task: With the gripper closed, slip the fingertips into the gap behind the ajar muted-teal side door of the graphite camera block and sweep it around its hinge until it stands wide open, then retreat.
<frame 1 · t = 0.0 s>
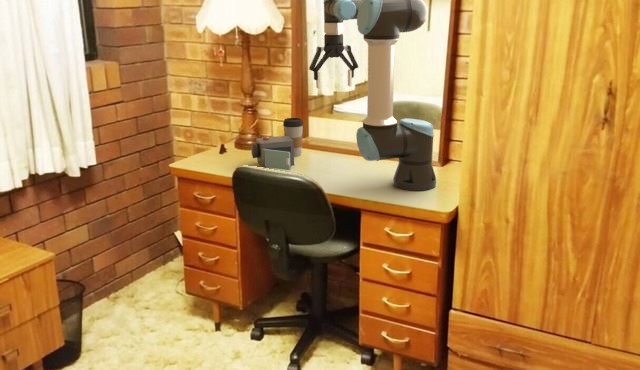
hand: (334, 87, 256), 28 cm above the table, fingers open, 13 cm apart
camera body: (275, 163, 251), on the table
side door: (275, 159, 240), point 4 cm above the table, hinge at 45.0°
coffee cup: (293, 155, 263), on the table
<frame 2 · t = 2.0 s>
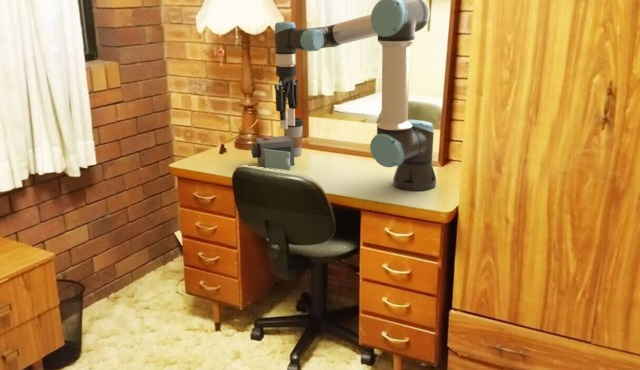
hand: (287, 126, 238), 17 cm above the table, fingers open, 5 cm apart
nothing on the table moved.
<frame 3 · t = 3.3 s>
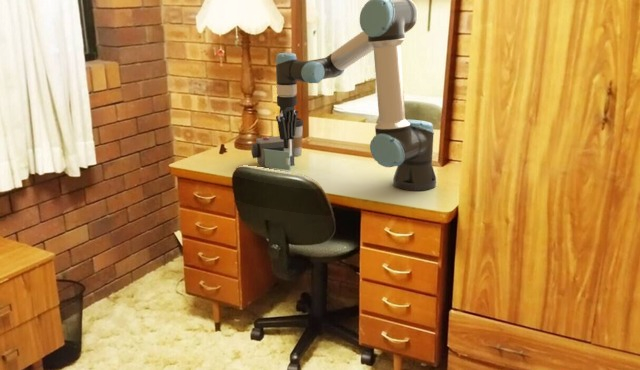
hand: (287, 155, 242), 5 cm above the table, fingers closed
nothing on the table moved.
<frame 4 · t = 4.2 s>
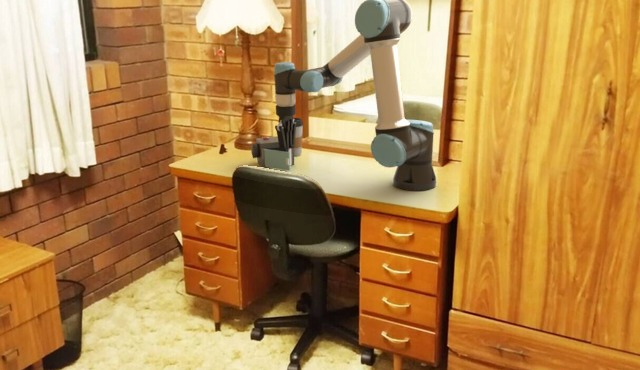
hand: (287, 164, 242), 2 cm above the table, fingers closed
side door: (275, 159, 240), point 4 cm above the table, hinge at 45.9°, touching gripper
everything else where it was.
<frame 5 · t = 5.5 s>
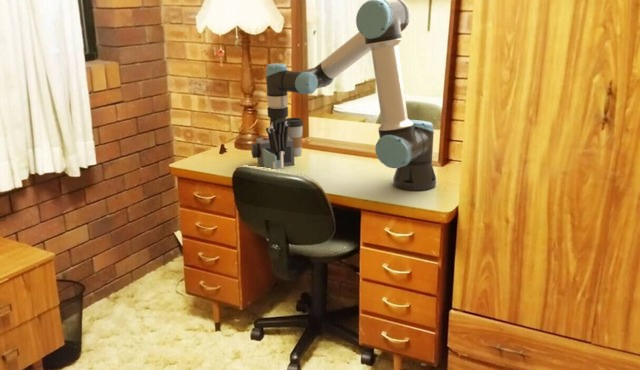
hand: (279, 167, 238), 2 cm above the table, fingers closed
side door: (268, 161, 238), point 5 cm above the table, hinge at 79.6°, touching gripper
everything else where it was.
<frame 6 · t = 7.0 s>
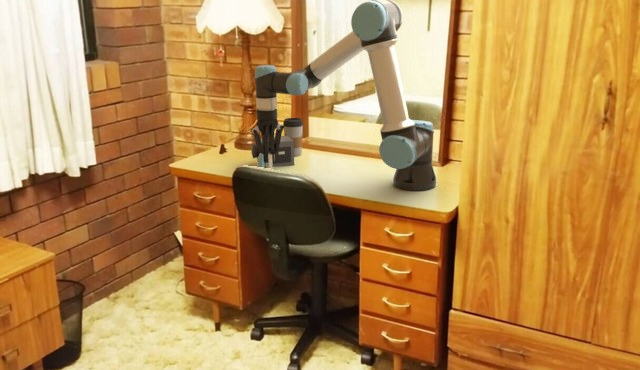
hand: (269, 170, 235), 2 cm above the table, fingers closed
side door: (261, 161, 237), point 5 cm above the table, hinge at 110.0°, touching gripper
everything else where it was.
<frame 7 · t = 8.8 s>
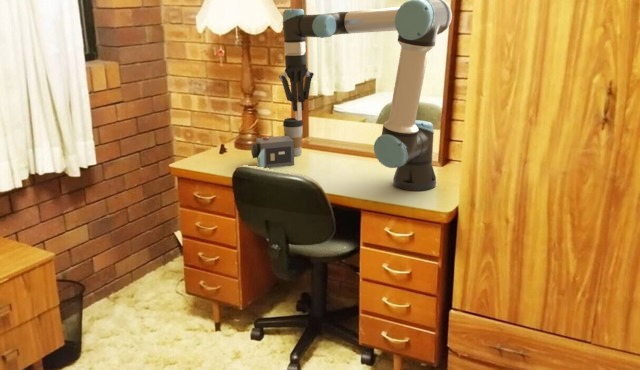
hand: (298, 119, 229), 21 cm above the table, fingers closed
side door: (261, 161, 237), point 5 cm above the table, hinge at 110.1°
everything else where it was.
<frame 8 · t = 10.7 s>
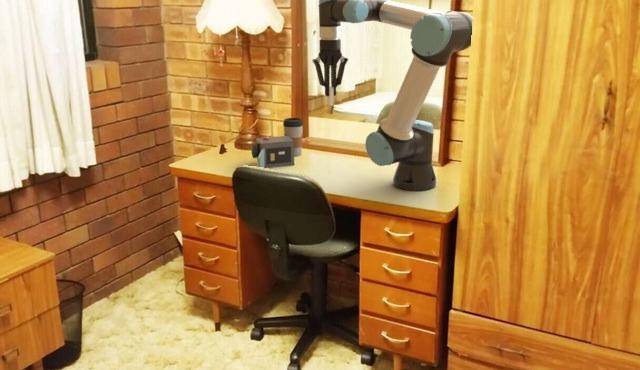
hand: (330, 104, 228), 26 cm above the table, fingers closed
nothing on the table moved.
at the end: side door at +110° (first picture: +45°) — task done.
